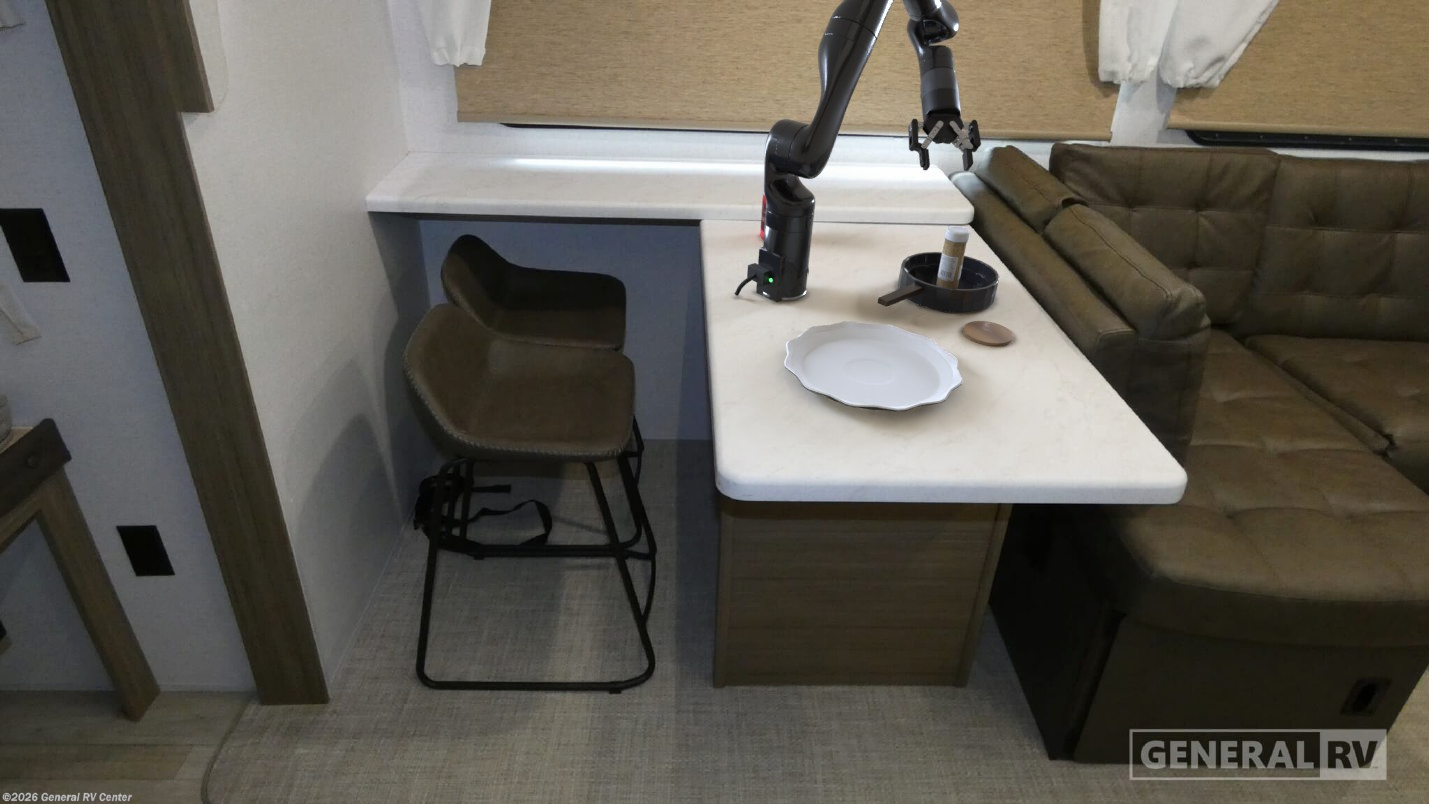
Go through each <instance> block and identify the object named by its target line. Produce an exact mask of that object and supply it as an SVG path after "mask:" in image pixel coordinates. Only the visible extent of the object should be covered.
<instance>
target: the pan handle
mask: <svg viewBox="0 0 1429 804" xmlns="http://www.w3.org/2000/svg"><path fill="white" fill-rule="evenodd" d="M922 291H923V287H922V286H919V285H917V284H915V283H914V284H911V285H909V286H906V287H904V288H901V289H899V290H898V289H896V290H894V291H891V292H888V293H886V294H884V295H881V296H879V297H878V298H877V303H876V304H878V305H880V306H883V307H885V308H888V307H891V306H893V305H895V304H898V303H900V302H903V301H905V300H908V298H910V297H913V296H915V295H918V294H920V293H922Z"/></svg>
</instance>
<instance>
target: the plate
mask: <svg viewBox="0 0 1429 804" xmlns="http://www.w3.org/2000/svg"><path fill="white" fill-rule="evenodd" d="M785 350H786V356H785V358H784V361H783V366H784V368H785V370H787V371H789V372H790V373H791V375H794V376H795V377H796V378H797V379H798V381H799V383H800V384H801V385H802V387H803V388H804V389H806V390H808V391H809V392H812V393H815V394H818V395H821V396H824V397H826V398H828V399H830V400H832V401H834V402H837V403H840V404H842V405H844V406H847V407H852V408H859V409H864V410H870V411H871V410H872V411H887V412H907V411H910V410H913V409H916V408H920V407H925V406H931V405H939V404H942V403H945V402H946V401H947V400H948V398H949V396H950V395H951V393H952V392H953V391H954V390H956V389H958V388H959V387H961V386H962V385H963V382H964V378H963V376H962V375H961V372H960V371H959V359H958V358H957V357H956V356H955V355H954V354H952V353H950V352H948V351H947V350H945V349H943V348H942V347H941V346H940V345H939V344H938V343H936V341H935V340H934V339H932V338H930V337H928V336H926V335H922V334H918V333H915V332H910V331H907V330H905V329H903V328H901V327H898V326H896V325H892V324H888V323H867V322H861V321H855V320H844V321H840V322H836V323H832V324H823V325H814V326H810V327H807V328H806V329H805V330H804V331H803V332H802V333H801V334H800V335H798V336H796V337H794V338H792V339H790V340H787V342H786V343H785Z"/></svg>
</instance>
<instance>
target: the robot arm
mask: <svg viewBox="0 0 1429 804" xmlns="http://www.w3.org/2000/svg"><path fill="white" fill-rule="evenodd" d="M894 1H895V0H842V1H841V2H840V4H839V5H837V7H836V8H835V10H833V12H832V14H831V16H830V18H829V20H828V23H827V25H826V27H825V30H824V31H823V34H822V37H821V39H820V41H819V45H818V49H817V63H818V64H817V65H818V73H819V80H820V98H819V102H818V106H817V109H816V111H815V113H814V117H813V119H812V120H811V122H810V123H806V122H801V121H797V120H793V119H789V118H784V119H783V118H782V119H780V120H777V121H776V122H775V123H774V124H773V125H772V127H771V128H770V130H769V132H768V134H767V137H766V140H765V147H764V158H763V159H764V160H763V161H764V163H763V192H764V194H765V197H766V215H765V227H764V240H762V242H763V243H762V246H761V247H759V248H758V259H757V263H756V262H753V263H750V264H748V265H747V273H746V278H745V279H743V280H742V281H741V283H740V284H739V285H738V286H737V287H736V290H735V292H734V296H737V297H738V296H739V295H740V293H741V291H742V289H743V288H744V287H745V286H746V285H748V283H750V282H755V283H756V287H755V288H756V289H755V292H756V293H757V294H759V295H761V296H763V297H765V298H767V299H769V300H771V301H773V302H775V303H780V302H795V301H799V300H801V299H804V297H806V295H807V285H808V284H807V283H808V277H809V276H810V275H809V274H810V266H809V265H810V255H811V247H812V245H811V244H812V237H813V227H814V220H815V219H814V217H815V209H816V197H815V195H814V194H813V192H812V191H811V190H809V188H807V186H806V185H804V184H803V182H802V180H801V179H800V178H802V179H807V180H813V179H815V178H817V177H818V176H820V175H821V173H822V172H823V171H824V169H825V168H826V166H827V164H828V162H829V160H830V158H831V156H832V153H833V150H834V147H835V144H836V141H837V138H838V135H839V132H840V130H841V127H842V124H843V120H844V118H845V114H846V113H847V109H848V107H849V104H850V102H851V99H852V98H853V97H852V96H853V94H854V92H855V89H856V87H857V85H858V83H859V80H860V78H861V76H862V74H863V72H864V69H865V67H866V65H867V64H868V61H869V59H870V57H871V54H872V53H873V51H874V48H875V45H876V43H877V41H878V39H879V36H880V33H881V30H882V28H883V25H884V23H885V21H886V19H887V16H888V14H889V13H890V10H891V7H892V5H893V3H894ZM901 2H902V4H903V6H904V9H905V11H906V13H907V15H908V17H909V19H908V21H907V23H906V34H907V38H908V40H909V41H910V42H909V43H910V45H911V46H912V48H913V50H914V52H915V53H914V54H915V55H916V58H917V62H918V69H919V78H920V87H919V90H920V92H919V94H920V95H919V98H920V101H921V115H922V121H919V120H918V119H917V118H913V119H911V121H910V123H909V124H908V128H907V129H908V132H907V133H908V151H910V152H916V153H917V154H918V159H919V166H920V168H922V170H923V171H928V169H929V168H930V166H931V160H930V159H931V158H930V151H929V146H930V145H931V143H932V142H933V143H934V144H935V145H940V144H945V145H951V144H952V145H953V146H954V148H956V149H958V150H959V151H960V152H961V153H962V155H961V158H962V167H963V172H968V171H970V169H971V168H972V166H973V165H974V156H973V153H976V152H977V150H978V149H979V148H980V147H981V146H982V141H981V136H980V129H979V124H978V121H977V120H976V119H972V120H971V121H969V122H968V121H967V122H964V121H963V119H962V110H961V101H960V94H959V93H960V92H959V85H958V84H959V83H958V78H957V75H956V68H955V59H954V52H953V50H952V48H950V47H949V46H948V45H944V44H943V45H942V44H941V43H943V42H946V41H950V40H951V39H953V38H954V37H955V36H956V35H957V34H958V32H959V29H960V17H959V13H958V12H957V11H956V9H955V7H954V6H953V4H952V3H951V2H950V1H948V0H901ZM921 130H922V132H924V134H925V135H926V138H925V139H924V141H923V142H919V132H920V131H921ZM962 130H964V131H965V132H964V131H962ZM967 136H968V138H967Z"/></svg>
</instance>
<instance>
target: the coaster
mask: <svg viewBox="0 0 1429 804" xmlns="http://www.w3.org/2000/svg"><path fill="white" fill-rule="evenodd" d="M962 333H963V335H964V336H965V337H966V338H967V339H968V340H970V341H972V342H975V343H976V344H980V345H984V346H991V347H1001V346H1007V345H1009V344H1010V343H1012V341H1013V340H1014V333H1013V331H1011V329H1009V328H1008V327H1006V326H1004V325H1002V324H999V323H997V322H993V321H987V320H974V321H973V320H972V321H969V322H967V323H965V324H964V325H963V328H962Z"/></svg>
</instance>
